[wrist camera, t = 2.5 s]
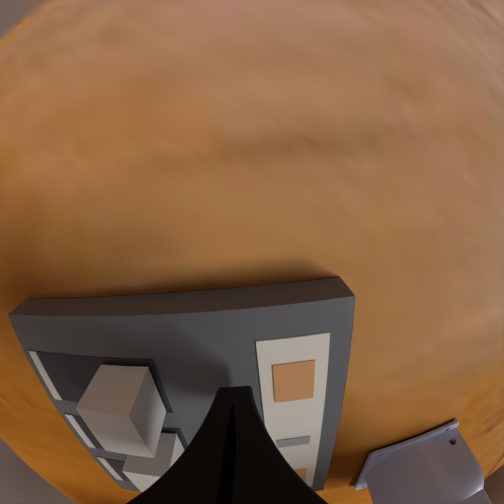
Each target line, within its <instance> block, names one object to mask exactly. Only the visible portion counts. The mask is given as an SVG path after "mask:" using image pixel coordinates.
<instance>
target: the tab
mask: <svg viewBox="0 0 504 504" xmlns="http://www.w3.org/2000/svg"><path fill="white" fill-rule="evenodd" d="M76 409H77V411H78V413H79V414H80V416H81V417H82V419H83V420H84V422H85V423H86V425H87V426H88V428H89V429H90V430H91V432H92V433H93V435H94V436H95V437H96V439H97V440H98V442H99V443H100V444H101V446H102V447H103V448H104V449H105V450H106V451H111V452H116V453H122V454H128V455H134V456H141V457H149V458H154V457H155V453H156V449H157V445H158V441H159V437H160V433H161V429H162V425H163V421H164V418H165V414H166V410H165V407H164V405H163V403H162V400H161V398H160V395H159V393H158V391H157V388H156V386H155V383H154V380H153V378H152V375H151V373H150V370H149V367H137V366H114V365H100V367H99V369H98V370H97V372H96V374H95V375H94V377H93V379H92V380H91V382H90V384H89V386H88V387H87V389H86V391H85V392H84V394H83V396H82V398H81V399H80V401H79V403H78V405H77V406H76Z"/></svg>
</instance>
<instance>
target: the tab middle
mask: <svg viewBox="0 0 504 504" xmlns="http://www.w3.org/2000/svg"><path fill="white" fill-rule="evenodd" d="M183 452H184V448H183V446H182V444H181V442H180V440H179V438H178V436H177V434H171V433H160V437H159V441H158V445H157V449H156V453H155V457H154V458H149V457H141V456H134V455H128V454H127V457H126V460H125V463H124V466H123V469H122V471H123V473H124V474H125V475H126V476H127V477H128V478H129V479H130V480H131V482H132V483H133V484H134V485H135V486H136V487H137V488H138V489H139V490H140V491H141V492H144V491H145V490H146V489H147V488H149V487H150V486H151V485H152V484H153V483H154V482H156V481H157V480H158V479H159V478H160V477H161V476H162V475H163V474H164V473H165V472H166V471H167V470H168V469H169V468H170V467H171V466H172V465H173V464H174V463H175V462H176V460H177V459H178V458H179V457H180V456H181V454H182V453H183Z"/></svg>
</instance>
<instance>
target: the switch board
mask: <svg viewBox="0 0 504 504" xmlns="http://www.w3.org/2000/svg"><path fill="white" fill-rule="evenodd" d="M354 305H355V295H354V294H353V293H352V291H351V290H350V289H349V288H348V286H347V285H346V284H345V283H344V281H343V280H342V279H341V278H340V277H333V278H325V279H316V280H307V281H298V282H289V283H279V284H269V285H259V286H249V287H238V288H226V289H215V290H202V291H189V292H175V293H160V294H144V295H127V296H107V297H83V298H51V299H27V300H26V301H24V302H23V303H22V304H21V305H19V306H18V307H17V308H16V309H14V310H13V311H12V312H11V313H9V314H8V315H9V317H10V320H11V322H12V325H13V327H14V330H15V332H16V334H17V336H18V339H19V341H20V343H21V345H22V347H23V349H24V351H25V353H26V355H27V357H28V359H29V361H30V363H31V365H32V367H33V369H34V371H35V373H36V375H37V376H38V378H39V380H40V382H41V383H42V385H43V387H44V389H45V390H46V392H47V394H48V395H49V397H50V398H51V400H52V402H53V403H54V405H55V406H56V408H57V409H58V411H59V412H60V414H61V415H62V417H63V418H64V420H65V421H66V423H67V424H68V425H69V427H70V428H71V429H72V431H73V432H74V434H75V435H76V436H77V438H78V439H79V440H80V441H81V443H82V444H83V445H84V446H85V448H86V449H87V450H88V451H89V453H90V454H91V455H92V456H93V457H94V459H95V460H96V461H97V462H98V463H99V464H100V465H101V467H102V468H103V469H104V470H105V471H106V472H107V473H108V474H109V475H110V476H111V478H112V479H113V480H114V481H115V482H116V483H117V484H118V485H119V486H120V487H121V488H125V489H130V490H135V491H140V490H139V489H138V488H137V487H136V486H135V485H134V484H133V483H132V482H131V480H130V479H129V478H128V477H127V476H126V475H125V474H124V473H123V471H122V469H123V466H124V463H125V460H126V457H127V454H122V453H116V452H111V451H106V450H105V449H104V448H103V447H102V446H101V444H100V443H99V442H98V440H97V439H96V437H95V436H94V435H93V433H92V432H91V430H90V429H89V428H88V426H87V425H86V423H85V422H84V420H83V419H82V417H81V416H80V414H79V413H78V411H77V409H76V406H77V405H78V403H79V401H80V399H81V398H82V396H83V394H84V392H85V391H86V389H87V387H88V386H89V384H90V382H91V380H92V379H93V377H94V375H95V374H96V372H97V370H98V369H99V367H100V365H114V366H137V367H149V370H150V373H151V375H152V378H153V380H154V383H155V386H156V388H157V391H158V393H159V395H160V398H161V400H162V403H163V405H164V407H165V410H166V414H165V418H164V421H163V425H162V429H161V433H171V434H177V436H178V438H179V440H180V442H181V444H182V446H183V448H184V450H185V449H186V448H187V446H188V445H189V444H190V442H191V441H192V439H193V438H194V436H195V434H196V433H197V431H198V430H199V428H200V426H201V425H202V423H203V421H204V419H205V417H206V415H207V413H208V411H209V409H210V407H211V405H212V403H213V400H214V398H215V395H216V392H217V389H219V388H220V387H237V386H251V387H252V389H253V396H254V400H255V404H256V407H257V409H258V412H259V415H260V417H261V419H262V421H263V423H264V425H265V427H266V429H267V431H268V433H269V435H270V437H271V438H272V440H273V442H274V443H275V445H276V447H277V448H278V450H279V451H280V453H281V454H282V455H283V457H284V458H285V460H286V461H287V462H288V463H289V465H290V466H291V467H292V468H293V470H294V471H295V472H296V473H297V474H298V475H299V476H300V477H301V479H302V480H303V481H304V482H305V483H306V484H307V485H308V486H309V487H310V488H311V489H312V490H313V491H320V490H323V489H324V485H325V481H326V478H327V474H328V470H329V466H330V462H331V458H332V453H333V449H334V445H335V440H336V435H337V431H338V426H339V420H340V415H341V410H342V404H343V398H344V392H345V386H346V379H347V372H348V364H349V356H350V348H351V339H352V329H353V318H354Z"/></svg>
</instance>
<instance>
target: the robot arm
mask: <svg viewBox="0 0 504 504" xmlns="http://www.w3.org/2000/svg"><path fill="white" fill-rule="evenodd" d="M458 425H459V421H458V420H455V421H452V422H450V423H448V424H446V425H444V426H442V427H439V428H437V429H435V430H432V431H430V432H427V433H425V434H422V435H420V436H417V437H415V438H412V439H409V440H407V441H404V442H401V443H398V444H395V445H392V446H389V447H386V448H383V449H379V450H376V451H373V452H371V453H370V454H369V455H368V457H367V460H366V462H365V464H364V467H363V469H362V471H361V473H360V475H359V478H358V480H357V482H356V484H355V486H354V489H355V490H359V489H363V488H366V487H368V489H369V492H370V495H371V498H372V501H373V504H491V502H490V500H489V498H488V496H487V494H486V492H485V491H484V489H483V486H484V476H483V471H482V469H481V466H480V464H479V463H478V461H477V459H476V458H475V456H474V454H473V453H472V451H471V450H470V448H469V446H468V445H467V443H466V442H465V440H464V438H463V437H462V435H461V434H460V432H459V431H458V429H457V426H458ZM18 504H21V503H20V502H19V503H18ZM126 504H328V503H327V502H326V501H325V500H323V499H322V498H321V497H320V496H319V495H318V494H317V493H315V492H314V491H313V490H312V489H311V488H310V487H309V486H308V485H307V484H306V483H305V482H304V481H303V480H302V479H301V477H300V476H299V475H298V474H297V473H296V472H295V471H294V470H293V468H292V467H291V466H290V465H289V463H288V462H287V461H286V460H285V458H284V457H283V455H282V454H281V453H280V451H279V450H278V448H277V447H276V445H275V443H274V442H273V440H272V438H271V437H270V435H269V433H268V431H267V429H266V427H265V425H264V423H263V421H262V419H261V417H260V415H259V412H258V409H257V407H256V404H255V400H254V396H253V389H252V387H251V386H237V387H220V388H219V389H217V392H216V395H215V398H214V400H213V403H212V405H211V407H210V409H209V411H208V413H207V415H206V417H205V419H204V421H203V423H202V425H201V426H200V428H199V430H198V431H197V433H196V434H195V436H194V438H193V439H192V441H191V442H190V444H189V445H188V446H187V448H186V449H185V450H184V452H183V453H182V454H181V456H180V457H179V458H178V459H177V460H176V462H175V463H174V464H173V465H172V466H171V467H170V468H169V469H168V470H167V471H166V472H165V473H164V474H163V475H162V476H161V477H160V478H159V479H158V480H157V481H156V482H154V483H153V484H152V485H151V486H150V487H149V488H147V489H146V490H145V491H144V492H142V493H141V494H139V495H138V496H137V497H135V498H134V499H132V500H131V501H129V502H128V503H126Z"/></svg>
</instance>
